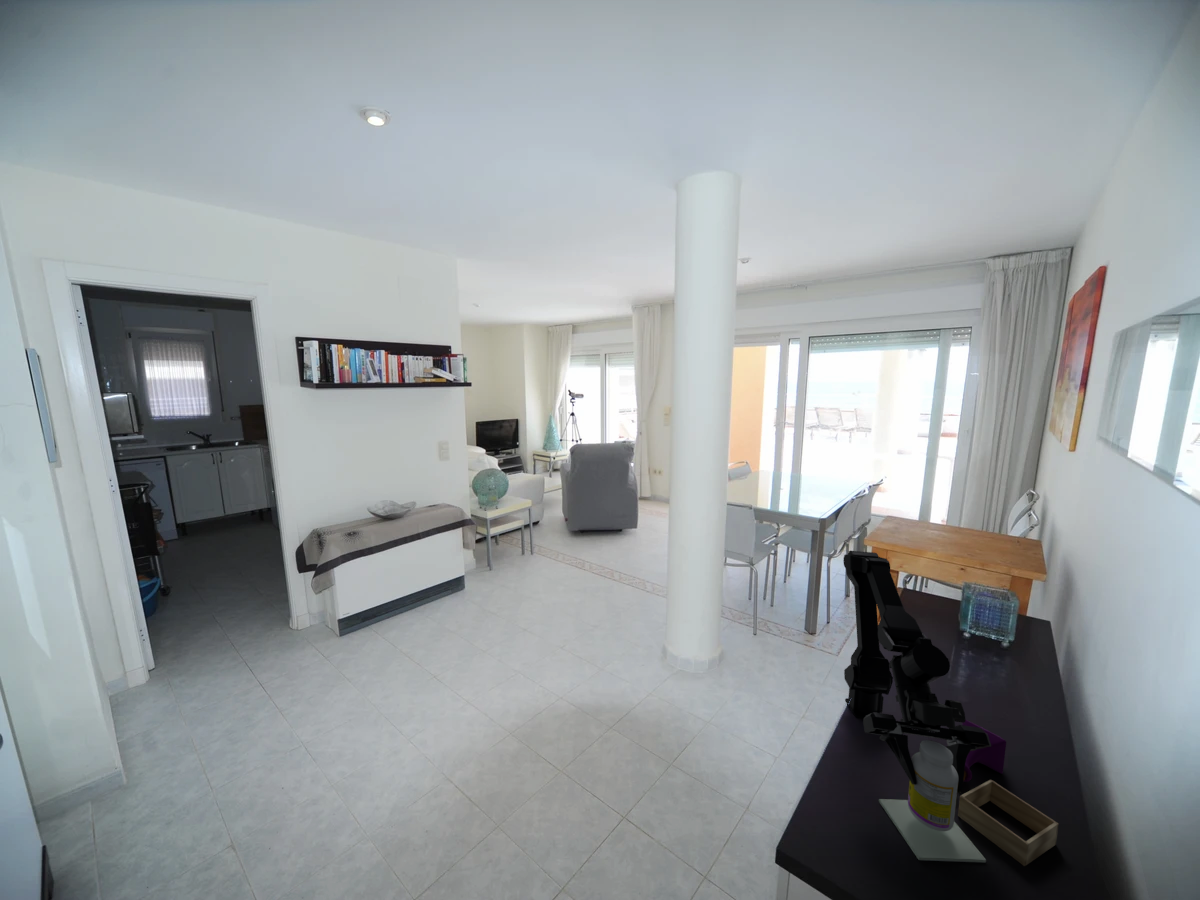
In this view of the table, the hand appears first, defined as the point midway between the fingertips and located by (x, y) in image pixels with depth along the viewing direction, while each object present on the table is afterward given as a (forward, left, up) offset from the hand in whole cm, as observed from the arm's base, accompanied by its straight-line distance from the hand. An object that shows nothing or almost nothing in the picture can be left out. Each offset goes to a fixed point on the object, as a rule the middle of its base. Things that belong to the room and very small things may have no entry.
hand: (937, 788), depth 77 cm
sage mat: (0, +1, -9) cm, 9 cm away
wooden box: (+14, +3, -9) cm, 17 cm away
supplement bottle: (0, +1, -7) cm, 7 cm away
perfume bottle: (+23, +22, -5) cm, 32 cm away
